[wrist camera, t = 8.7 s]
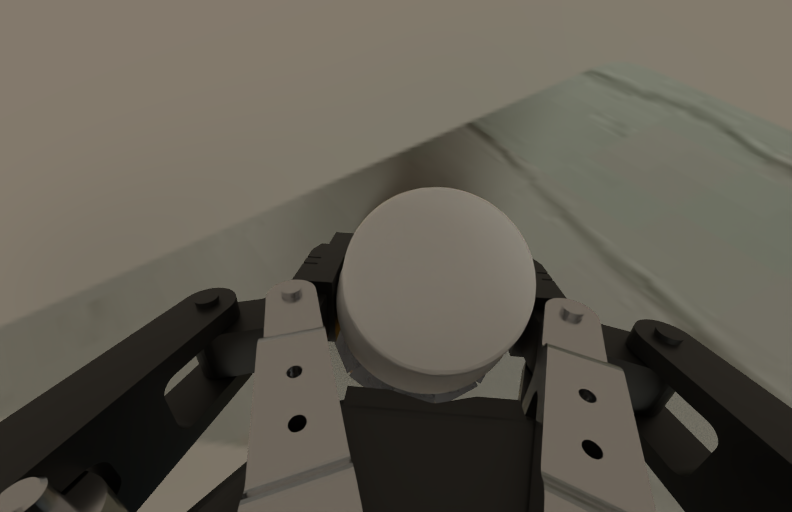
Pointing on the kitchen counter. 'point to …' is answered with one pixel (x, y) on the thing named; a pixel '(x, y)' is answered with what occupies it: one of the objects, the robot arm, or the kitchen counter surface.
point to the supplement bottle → (434, 289)
